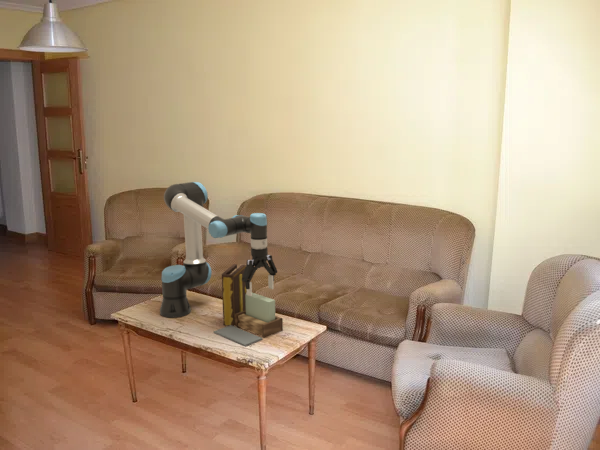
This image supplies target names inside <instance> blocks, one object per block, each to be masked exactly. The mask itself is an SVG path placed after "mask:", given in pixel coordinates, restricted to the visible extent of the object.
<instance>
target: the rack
mask: <svg viewBox="0 0 600 450" xmlns="http://www.w3.org/2000/svg"><path fill="white" fill-rule="evenodd" d="M242 314H245V315H246V310H245V311H242V312H239V313H236V314H235V326H234V327H237V328H238V323H240V320H239V319H238V316H239V315H242ZM283 319H284V318H282V317H280V316H278V315H275V320H273V321H270V322H268V323H265V324H263V336H262V338H264V339H266V338H268V337H270V336H272V335H275V334H278V333H280V332H283V326H284V324H283Z"/></svg>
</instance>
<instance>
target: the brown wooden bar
mask: <svg viewBox="0 0 600 450" xmlns="http://www.w3.org/2000/svg"><path fill="white" fill-rule="evenodd" d="M238 319H239V320H240V323H238V326H237V328H239V329H242V330H244V331H247V332H249V333H252V334H254V335H257V336H259V337H263V324H265V323H267V322H264V321H261V320H259V319H256V318H253V317H251V316H248V315H245V314H242V315H239V316H238Z"/></svg>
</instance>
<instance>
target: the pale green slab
mask: <svg viewBox="0 0 600 450" xmlns="http://www.w3.org/2000/svg"><path fill="white" fill-rule="evenodd" d="M245 299H246V315H248V316H251V317H253V318H256V319H259V320H261V321H264V322H267V323H268V322H270V321H273V320H275V316H276V300H275V299H273V298H271V297H267V296H264V295H261V294H258V293H255V292H252V296H248V295H247V293H246V294H245Z"/></svg>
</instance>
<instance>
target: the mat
mask: <svg viewBox="0 0 600 450" xmlns="http://www.w3.org/2000/svg"><path fill="white" fill-rule="evenodd" d="M213 333H214V334H216V335H218V336H220V337H223V338H225V339H227V340H229V341H232V342H234V343H236V344H238V345H240V346H243V347H248V346H250V345H252V344H255V343H257V342H260V341H262V340H263V337H262V336H260V335H257V334H255V333H252V332H250V331H247V330H245V329H242V328H240V327H238V326H237V327H236V326H232V325H229V326H224V327H222V328H219V329H216V330H213Z"/></svg>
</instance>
